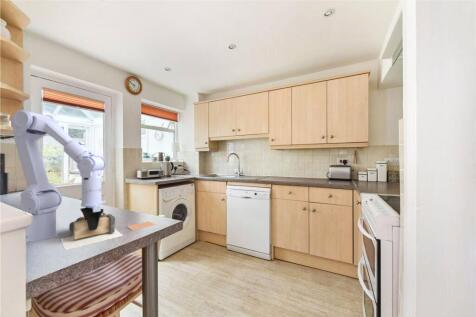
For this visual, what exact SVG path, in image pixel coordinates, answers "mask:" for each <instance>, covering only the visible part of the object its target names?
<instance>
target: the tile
mask: <svg viewBox="0 0 476 317" xmlns="http://www.w3.org/2000/svg"><path fill="white" fill-rule="evenodd" d="M152 226H156V224H155V223H153V222H151V221H145V222H140V223H136V224H131V225H127V226H126V228H127V229H128V230H130V231H133V232H134V231H136V230H141V229H145V228H148V227H152Z"/></svg>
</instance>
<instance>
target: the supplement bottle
mask: <svg viewBox="0 0 476 317" xmlns="http://www.w3.org/2000/svg"><path fill="white" fill-rule="evenodd" d="M106 216H107V214H106V213H105V212H104V211H103V213H102V214H101V216H100V218H103V217H106ZM83 220H85V218H84V216H80V217H78V218H77V219H76V220H74V221H70V223H69V225H68V226H69V228H68V229H69V232H70V233H72V234H73V233H74V222H77V221H83Z"/></svg>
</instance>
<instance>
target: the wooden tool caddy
mask: <svg viewBox="0 0 476 317" xmlns="http://www.w3.org/2000/svg"><path fill="white" fill-rule="evenodd" d="M73 222H74V221H73ZM115 226H116V217H115V216H114V215H113V214H111V213H109V214H108V213H107V214H106V217H103V218H100V219H99V223H98V227H97V229H96V230H91V231H90V230H89V228H88V223H87V220H83V221H77V222H74V233H72V236H73V237H74V239H78V238H83V237H88V236H93V235H98V234H103V233H107V232H110V233H114V231H115V229H116V227H115Z"/></svg>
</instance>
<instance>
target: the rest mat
mask: <svg viewBox="0 0 476 317" xmlns="http://www.w3.org/2000/svg"><path fill="white" fill-rule="evenodd" d="M123 236H124V235H123V234H122V233H121V232H120V231H119V230H117V229H116V228H115V231H114V233H110V232H107V233H103V234H98V235H93V236H88V237H83V238H78V239H74V237H73V235H72V236H67V237H62V238H59V239H60V241H61V244H62V246H63V249H64V250H65V251H67V250H71V249H75V248H79V247H83V246H87V245H91V244H95V243H99V242H103V241H107V240H112V239H114V238H115V239H116V238H119V237H123Z"/></svg>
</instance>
